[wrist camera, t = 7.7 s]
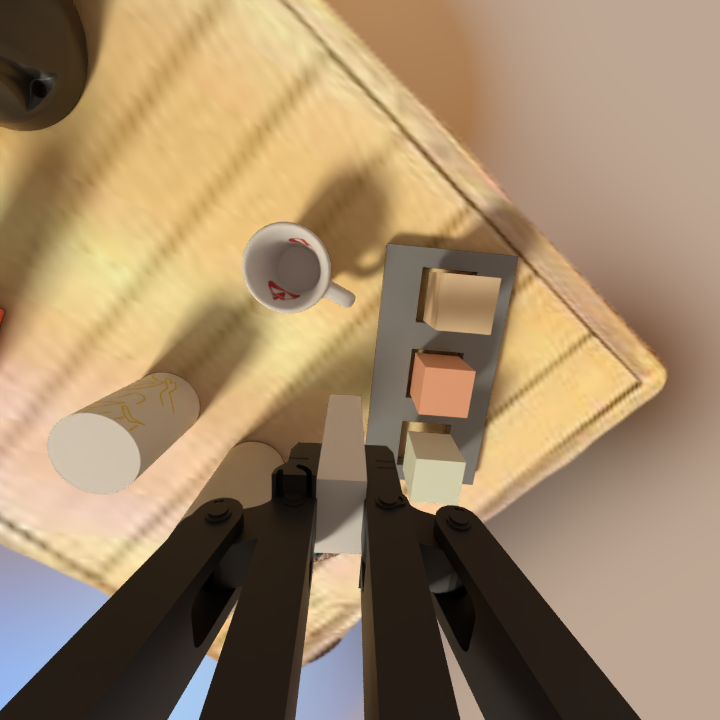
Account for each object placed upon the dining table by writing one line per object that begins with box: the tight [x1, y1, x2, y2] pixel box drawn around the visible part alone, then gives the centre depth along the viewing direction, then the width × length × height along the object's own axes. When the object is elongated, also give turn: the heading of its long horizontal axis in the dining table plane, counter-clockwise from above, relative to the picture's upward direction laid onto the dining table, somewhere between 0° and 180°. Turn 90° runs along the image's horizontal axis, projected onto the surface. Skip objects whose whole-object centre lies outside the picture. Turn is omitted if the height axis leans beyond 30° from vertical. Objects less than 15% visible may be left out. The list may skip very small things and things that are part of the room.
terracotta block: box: [410, 353, 476, 418], centre depth 37 cm, size 5×5×6 cm
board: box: [366, 244, 518, 485], centre depth 40 cm, size 28×14×2 cm, turn 175°
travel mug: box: [169, 442, 284, 618], centre depth 36 cm, size 8×8×18 cm
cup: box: [242, 222, 355, 313], centre depth 34 cm, size 11×8×8 cm
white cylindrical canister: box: [47, 372, 200, 494], centre depth 36 cm, size 8×8×12 cm
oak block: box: [423, 272, 501, 335], centre depth 33 cm, size 5×5×6 cm
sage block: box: [403, 431, 466, 505], centre depth 38 cm, size 5×5×6 cm
